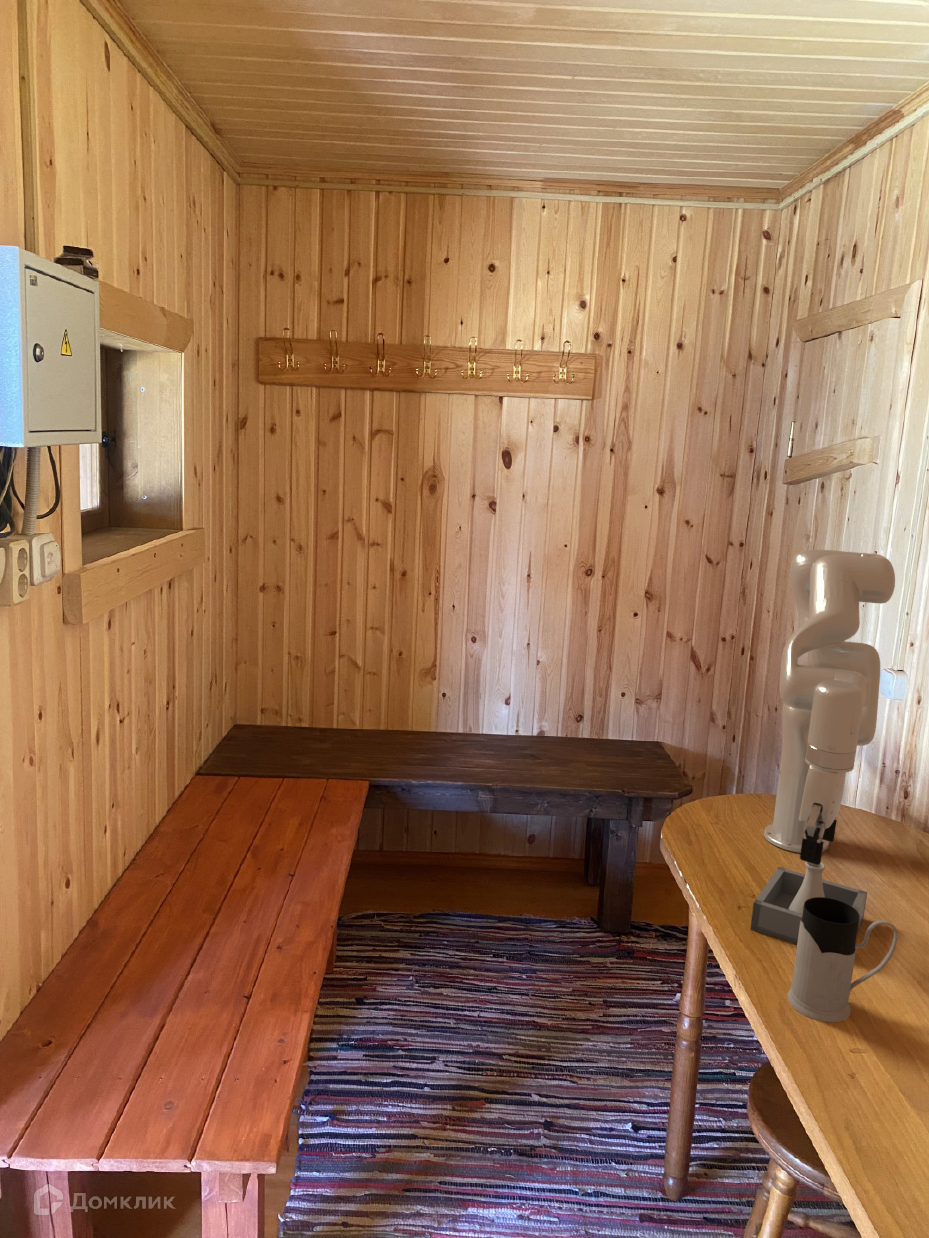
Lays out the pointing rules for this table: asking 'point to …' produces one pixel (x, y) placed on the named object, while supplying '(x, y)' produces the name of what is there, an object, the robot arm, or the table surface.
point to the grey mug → (828, 959)
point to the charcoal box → (779, 895)
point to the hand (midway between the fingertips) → (817, 850)
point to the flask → (809, 886)
